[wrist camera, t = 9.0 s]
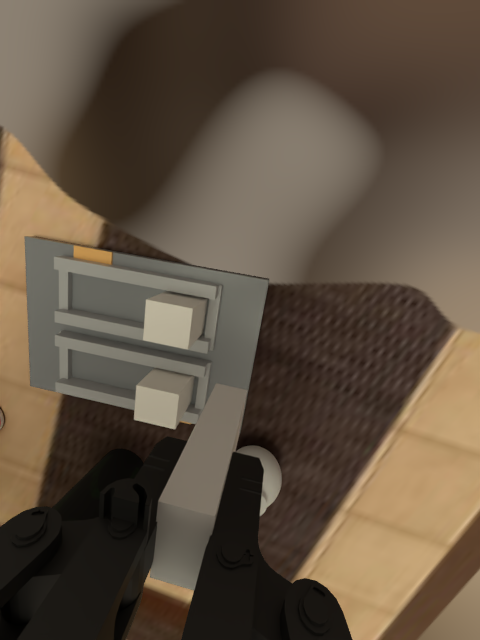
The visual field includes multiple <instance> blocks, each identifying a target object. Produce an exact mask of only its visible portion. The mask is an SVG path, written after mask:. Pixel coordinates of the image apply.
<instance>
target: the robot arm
mask: <svg viewBox="0 0 480 640" xmlns="http://www.w3.org/2000/svg"><path fill="white" fill-rule="evenodd" d="M246 395H247V390H245V389H240V388H236V387H231V386H227V385H222V384H218V383H216V385H215V387H214V389H213V391H212V393H211V395H210V397H209V399H208V401H207V403H206V405H205V407H204V409H203V411H202V413H201V415H200V417H199V419H198V421H197V423H196V425H195V427H194V429H193V431H192V433H191V435H190V437H189V439H188V441H184V440H180V439H176V438H172V437H168V436H167V437H166V438H164V439H163V440H161V441H160V442H159V443H157V444H156V445H155V447H154V448H153V450H152V452H151V453H150V455H149V457H148V458H147V459H146V461H145V462H144V465H143V466H142V467H141V469H140V470H139V472H138V473H137V475H136V477H135V478H134V479H131V478H126V479H121V480H117V481H115V482H113V483H111V484H109V485H107V486H106V487H105V488H104V489H103V490H102V491H101V492H100V503H99V517H96V518H94V519H88V520H77V521H62V519H61V515H60V514H59V512H58V511H57V510H56V509H53V508H50V507H35V508H32V509H29V510H26V511H23V512H22V513H20V514H18V515H17V516H15V517H13V518H12V519H10V520H9V521H8V522H6V523H5V524H4V525H2V526H1V527H0V640H126V637H127V635H128V632H129V630H130V627H131V625H132V622H133V620H134V617H135V615H136V612H137V610H138V607H139V605H140V602H141V597H142V593H143V585H144V582H145V580H146V578H147V575H148V573H149V570H150V568H151V572H150V577H151V578H154V579H157V580H161V581H164V582H167V583H171V584H174V585H178V586H181V587H184V588H188V589H191V590H194V594H193V597H192V601H191V605H190V609H189V613H188V616H187V620H186V624H185V628H184V632H183V635H182V639H181V640H352V637H351V634H350V631H349V629H348V626H347V623H346V620H345V617H344V614H343V611H342V609H341V607H340V605H339V603H338V601H337V599H336V598H335V597H334V596H333V594H332V593H331V592H330V591H329V590H328V589H327V588H326V587H325V586H323V585H322V584H320V583H319V582H317V581H315V580H310V579H306V578H305V579H300V580H296V581H295V582H294V583H293V584H292V583H291V582H289V581H288V580H286V579H285V578H283V577H282V576H281V575H279V574H278V573H276V572H275V571H274V570H273V569H272V568H270V566H269V565H268V564H267V563H266V561H265V560H264V558H263V556H262V554H261V552H260V549H259V545H258V529H259V518H260V508H261V497H262V486H263V485H262V484H263V475H264V469H263V466H262V463H261V461H260V458H258V457H254V456H250V455H245V454H241V453H237V452H235V451H236V446H237V442H238V438H239V432H240V427H241V422H242V416H243V411H244V406H245V400H246Z"/></svg>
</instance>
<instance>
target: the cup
mask: <svg viewBox="0 0 480 640" xmlns="http://www.w3.org/2000/svg"><path fill="white" fill-rule="evenodd" d="M143 465H144V464H143V462H142V461H141V459H140V458H139V457H138V456H137V455H136V454H134V453H132V452H131V451H128V450H125V449H115V450H112V451H110V452H109V453H108V454H107V455H106V456H105V457H104V458H102V459H101V460H100V461H99V462H98V463H97V464H96V465H95V466H94V467H93V468H92V469H91V470H90V471H89V472H88V473H87V474H86V475H85V476H84V477H83V478H82V479H81V480H80V481H79V482H78V483H77V484H76V485H75V486H74V487H73V488H72V489H71V490H70V491H69V492H68V493H67V494H66V495H65V496H64V497H63V498H62V499H61V500H60V501H59V502H58V503H57V504H55V505H54V506H53V507H52V508H53V509H56V510H57V511H58V512H59V514H60V515H61V519H62V521H77V520H88V519H94V518H96V517H99V503H100V492H101V491H102V490H103V489H104V488H105V487H106V486H107V485H109V484H111V483H113V482H115V481H117V480H121V479H126V478H131V479H134V478H135V477H136V475H137V473H138V472H139V470H140V469H141V467H142V466H143Z"/></svg>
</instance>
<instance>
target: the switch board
mask: <svg viewBox="0 0 480 640" xmlns="http://www.w3.org/2000/svg"><path fill="white" fill-rule="evenodd" d="M25 258H26V284H27V310H28V336H29V362H30V386H33V387H37V388H41V389H46V390H50V391H54V392H58V393H63V394H67V395H71V396H76V397H80V398H84V399H89V400H93V401H97V402H102V403H106V404H110V405H115V406H119V407H123V408H127V409H132V410H135V397H136V385H137V384H138V383H139V382H140V381H141V380H142V379H143V378H144V377H145V376H147V375H148V374H149V373H150V372H151V371H152V370H153V369H154V368H160V369H164V370H169V371H174V372H178V373H183V374H188V375H192V376H195V377H194V385H193V393H192V400H191V403H190V405H189V406H188V408H187V410H186V411H185V413H184V415H183V417H182V418H181V420H180V422H183V423H187V424H191V423H192V424H196V423H197V421H198V419H199V417H200V415H201V413H202V411H203V409H204V407H205V405H206V403H207V401H208V399H209V397H210V395H211V393H212V391H213V389H214V387H215V385H216V383H218V384H222V385H227V386H231V387H236V388H240V389H245V390H247V395H248V390H249V385H250V379H251V374H252V369H253V364H254V358H255V353H256V348H257V342H258V337H259V332H260V326H261V321H262V316H263V311H264V305H265V300H266V295H267V289H268V284H269V279H267V278H262V277H256V276H250V275H245V274H240V273H234V272H228V271H222V270H217V269H212V268H206V267H200V266H195V265H189V264H184V263H178V262H173V261H167V260H162V259H156V258H150V257H145V256H139V255H134V254H128V253H123V252H117V251H111V250H106V249H100V248H95V247H89V246H84V245H78V244H72V243H67V242H61V241H56V240H50V239H45V238H39V237H29V236H25ZM166 291H172V292H177V293H183V294H188V295H193V296H198V297H204V298H208V301H207V309H206V316H205V324H204V331H203V333H202V334H201V336H200V337H199V338H198V339H197V340H196V341H195V342H194V343H193V344H192V346H191V347H190V348H189V349H188V350H187V349H183V348H178V347H173V346H168V345H163V344H159V343H154V342H149V341H144V340H143V333H144V320H145V306H146V299H148V298H151V297H153V296H156V295H158V294H161V293H163V292H166ZM247 395H246V400H245V406H246V401H247ZM245 406H244V411H245ZM244 411H243V416H242V422H243V417H244ZM242 422H241V427H242ZM241 427H240V432H241ZM240 432H239V434H240Z"/></svg>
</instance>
